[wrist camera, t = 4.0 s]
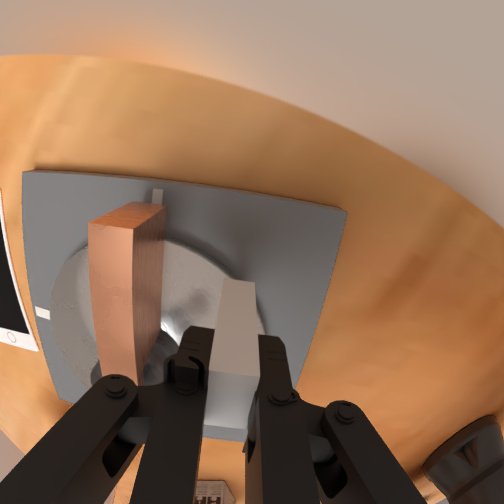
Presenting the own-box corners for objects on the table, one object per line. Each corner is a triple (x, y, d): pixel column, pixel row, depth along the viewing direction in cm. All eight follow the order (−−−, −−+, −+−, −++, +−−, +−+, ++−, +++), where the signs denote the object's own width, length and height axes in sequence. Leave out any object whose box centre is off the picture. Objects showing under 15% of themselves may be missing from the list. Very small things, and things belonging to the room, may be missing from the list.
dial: (246, 426, 22) (246, 484, 16) (75, 389, 21) (49, 435, 15) (296, 220, 16) (322, 258, 11) (48, 188, 15) (-16, 207, 10)
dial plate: (271, 432, 25) (272, 444, 23) (64, 389, 23) (58, 399, 22) (339, 207, 18) (348, 212, 16) (34, 169, 16) (21, 171, 15)
